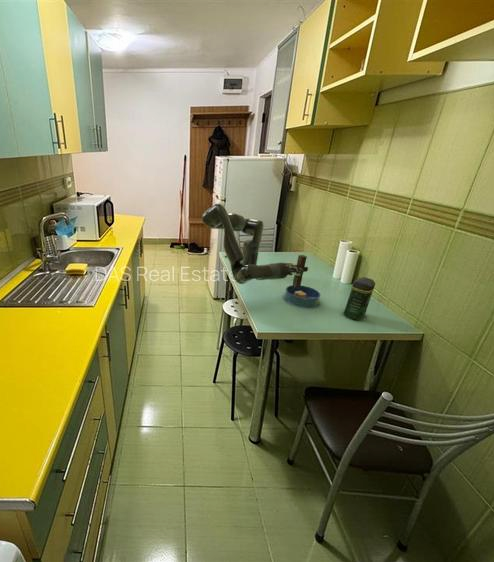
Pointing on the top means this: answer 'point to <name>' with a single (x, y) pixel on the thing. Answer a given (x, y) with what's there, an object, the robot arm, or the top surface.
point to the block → (300, 294)
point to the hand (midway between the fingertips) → (304, 267)
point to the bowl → (309, 301)
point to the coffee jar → (359, 298)
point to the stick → (300, 263)
